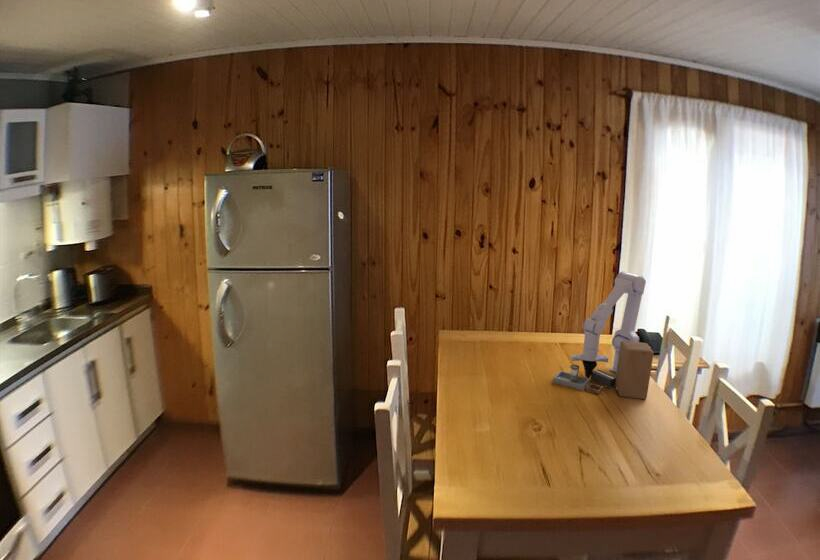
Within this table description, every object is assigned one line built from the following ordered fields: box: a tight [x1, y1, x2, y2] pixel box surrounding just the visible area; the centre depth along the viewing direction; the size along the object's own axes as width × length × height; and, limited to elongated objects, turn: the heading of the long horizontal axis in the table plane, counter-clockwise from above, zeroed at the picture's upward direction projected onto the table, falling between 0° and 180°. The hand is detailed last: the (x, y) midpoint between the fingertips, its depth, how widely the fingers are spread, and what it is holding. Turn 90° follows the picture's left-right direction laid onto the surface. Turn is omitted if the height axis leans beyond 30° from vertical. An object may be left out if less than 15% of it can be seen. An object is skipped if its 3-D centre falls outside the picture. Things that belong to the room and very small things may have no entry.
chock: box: [590, 369, 616, 389], centre depth 186 cm, size 9×4×4 cm, turn 32°
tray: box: [552, 370, 590, 392], centre depth 185 cm, size 12×8×2 cm
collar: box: [585, 382, 604, 395], centre depth 180 cm, size 5×5×2 cm
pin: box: [569, 364, 580, 383], centre depth 185 cm, size 3×3×7 cm
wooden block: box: [614, 341, 654, 400], centre depth 176 cm, size 10×10×20 cm
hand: (587, 376), depth 189 cm, fingers closed
